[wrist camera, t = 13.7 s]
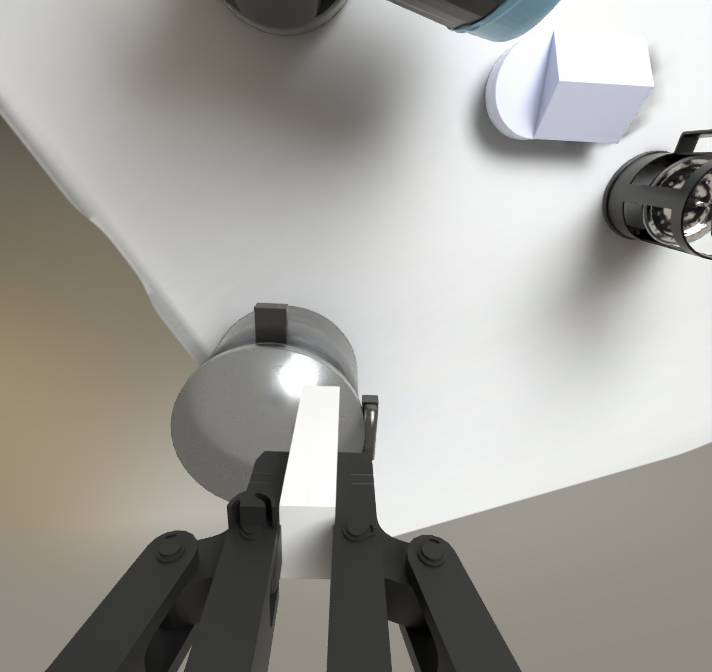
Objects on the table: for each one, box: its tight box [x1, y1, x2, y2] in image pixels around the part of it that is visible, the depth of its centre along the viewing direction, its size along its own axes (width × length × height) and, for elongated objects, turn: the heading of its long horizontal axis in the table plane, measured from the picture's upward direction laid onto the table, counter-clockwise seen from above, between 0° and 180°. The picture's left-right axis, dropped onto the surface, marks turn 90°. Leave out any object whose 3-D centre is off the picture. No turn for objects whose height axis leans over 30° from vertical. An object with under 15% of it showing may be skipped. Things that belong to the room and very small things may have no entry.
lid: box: [171, 343, 378, 502], centre depth 43 cm, size 19×20×2 cm
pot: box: [209, 303, 378, 417], centre depth 50 cm, size 25×20×12 cm
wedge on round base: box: [485, 30, 654, 144], centre depth 41 cm, size 9×7×13 cm
